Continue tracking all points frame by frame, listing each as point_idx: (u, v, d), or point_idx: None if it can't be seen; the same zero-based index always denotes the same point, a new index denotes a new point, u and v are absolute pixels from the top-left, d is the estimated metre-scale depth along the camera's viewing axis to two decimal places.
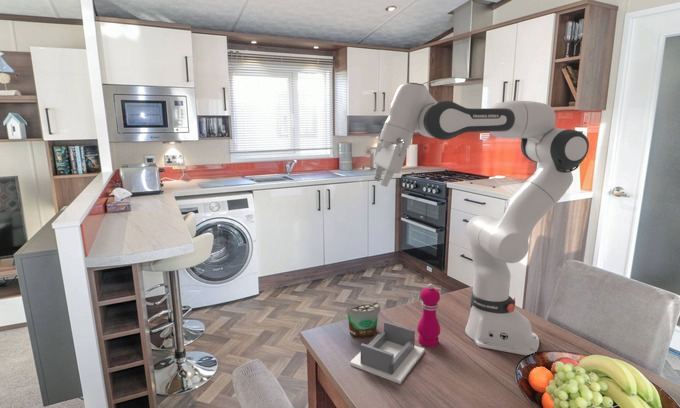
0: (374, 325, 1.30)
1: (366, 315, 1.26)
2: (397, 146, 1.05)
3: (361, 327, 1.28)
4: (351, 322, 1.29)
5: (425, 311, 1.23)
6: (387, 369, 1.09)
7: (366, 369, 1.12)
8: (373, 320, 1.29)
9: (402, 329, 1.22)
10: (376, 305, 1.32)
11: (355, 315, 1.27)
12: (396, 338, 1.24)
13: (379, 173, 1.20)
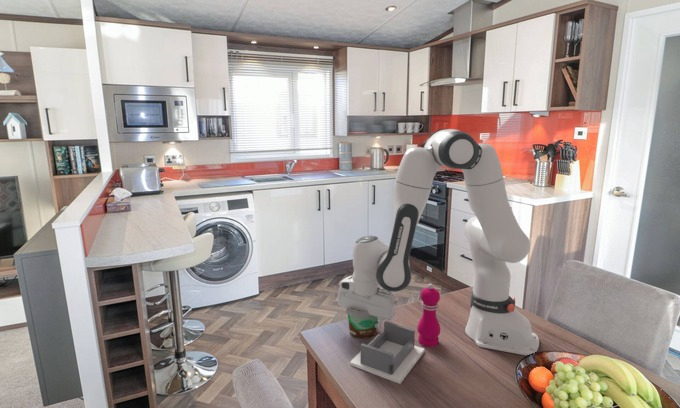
0: (374, 325, 1.30)
1: (366, 315, 1.26)
2: (389, 299, 1.22)
3: (361, 327, 1.28)
4: (351, 322, 1.29)
5: (425, 311, 1.23)
6: (387, 369, 1.09)
7: (366, 369, 1.12)
8: (374, 320, 1.29)
9: (402, 329, 1.22)
10: None
11: (355, 315, 1.27)
12: (396, 338, 1.24)
13: None
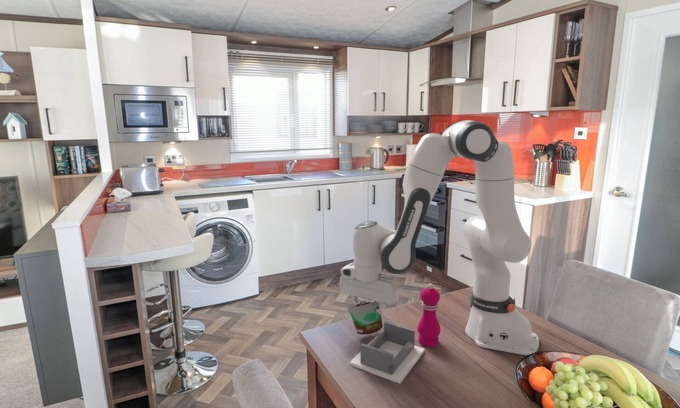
0: (379, 318, 1.28)
1: (368, 308, 1.25)
2: (391, 284, 1.21)
3: (366, 322, 1.26)
4: (355, 321, 1.28)
5: (425, 311, 1.23)
6: (387, 369, 1.09)
7: (366, 369, 1.12)
8: None
9: (402, 329, 1.22)
10: None
11: (358, 311, 1.25)
12: (396, 338, 1.24)
13: (357, 300, 1.31)
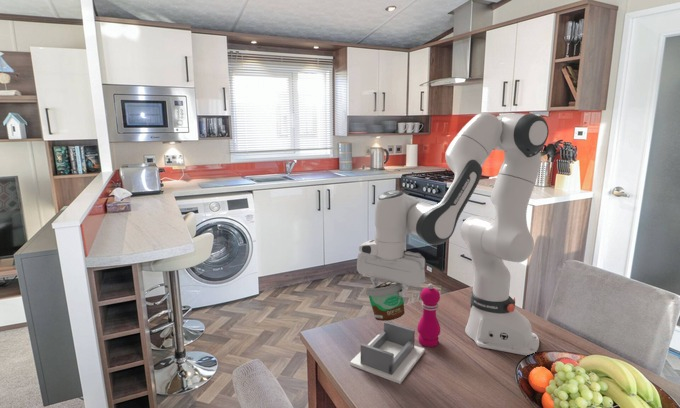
0: (401, 302, 1.13)
1: (390, 291, 1.10)
2: (418, 262, 1.06)
3: (388, 306, 1.11)
4: (375, 305, 1.12)
5: (425, 311, 1.23)
6: (387, 369, 1.09)
7: (366, 369, 1.12)
8: None
9: (402, 329, 1.22)
10: None
11: (378, 293, 1.10)
12: (396, 338, 1.24)
13: (376, 282, 1.16)
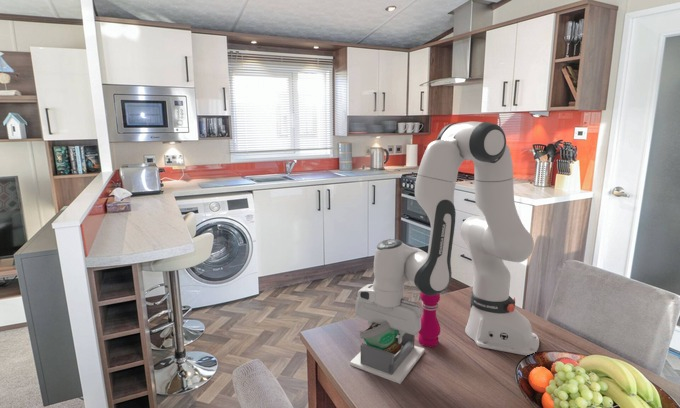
0: None
1: (382, 329, 1.12)
2: (414, 312, 1.09)
3: (384, 345, 1.13)
4: None
5: (425, 311, 1.23)
6: (387, 369, 1.09)
7: (366, 369, 1.12)
8: (392, 331, 1.14)
9: None
10: None
11: (371, 335, 1.12)
12: None
13: None
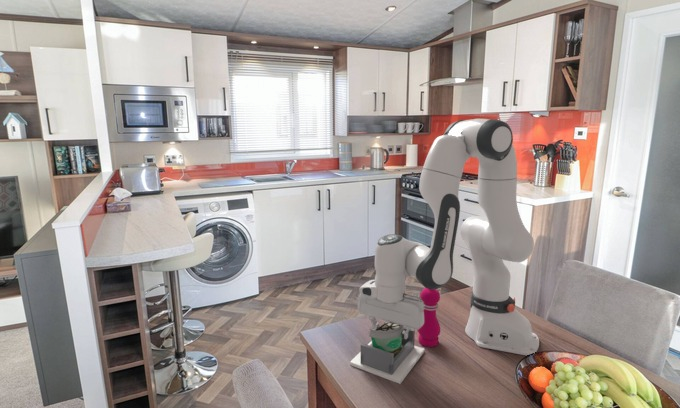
0: (401, 344, 1.16)
1: (394, 334, 1.12)
2: (417, 306, 1.08)
3: (390, 349, 1.13)
4: (377, 346, 1.14)
5: (425, 311, 1.23)
6: (387, 369, 1.09)
7: (366, 369, 1.12)
8: (400, 338, 1.15)
9: None
10: None
11: (383, 336, 1.12)
12: None
13: (375, 321, 1.19)
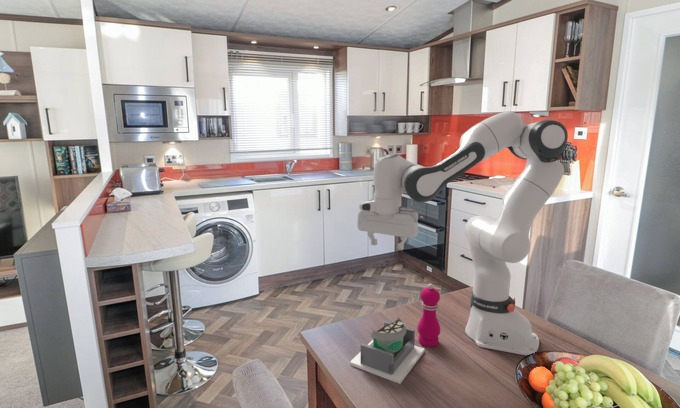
0: (402, 345, 1.16)
1: (397, 336, 1.12)
2: (412, 216, 1.20)
3: (391, 351, 1.13)
4: (378, 347, 1.13)
5: (425, 311, 1.23)
6: (387, 369, 1.09)
7: (366, 369, 1.12)
8: (402, 340, 1.15)
9: None
10: (400, 323, 1.18)
11: (385, 338, 1.11)
12: None
13: (373, 237, 1.30)
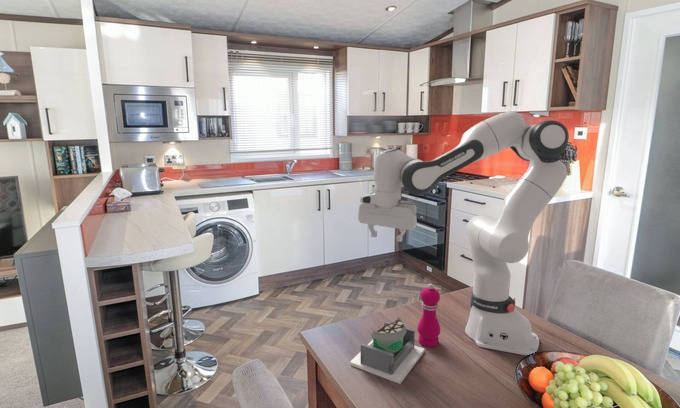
0: (402, 345, 1.16)
1: (397, 336, 1.12)
2: (410, 209, 1.24)
3: (391, 351, 1.13)
4: (378, 347, 1.13)
5: (425, 311, 1.23)
6: (387, 369, 1.09)
7: (366, 369, 1.12)
8: (402, 340, 1.15)
9: None
10: (400, 323, 1.18)
11: (385, 338, 1.11)
12: None
13: (373, 229, 1.34)
